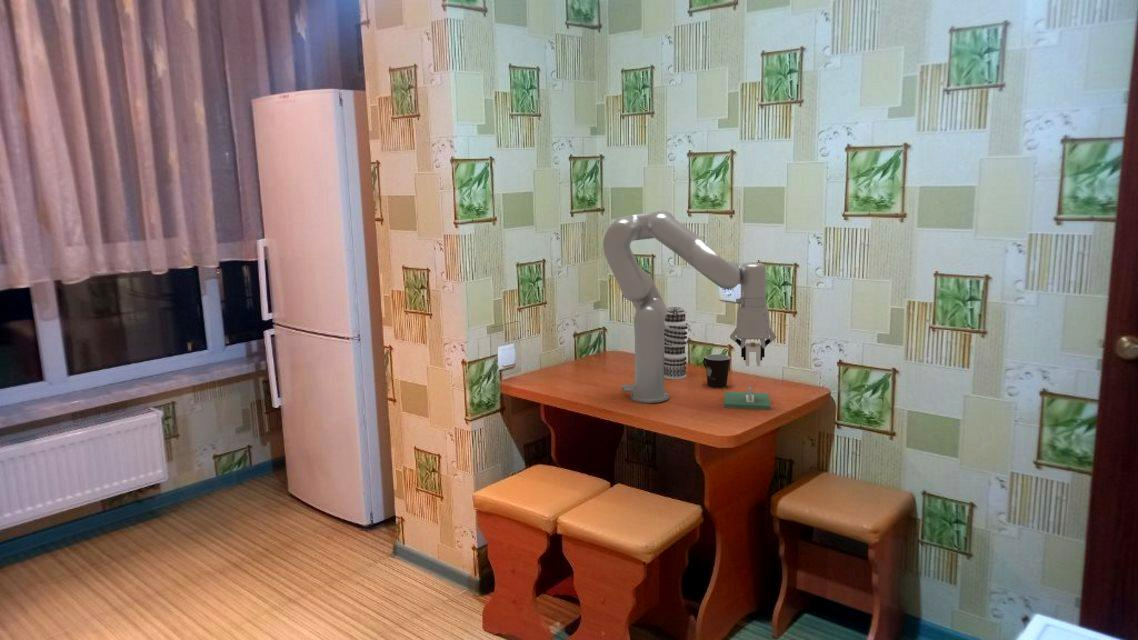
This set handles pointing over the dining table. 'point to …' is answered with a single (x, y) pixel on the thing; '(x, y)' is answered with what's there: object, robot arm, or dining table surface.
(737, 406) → the board
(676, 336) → the decorative candle
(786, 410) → the dining table surface
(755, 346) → the white box
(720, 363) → the coffee mug
